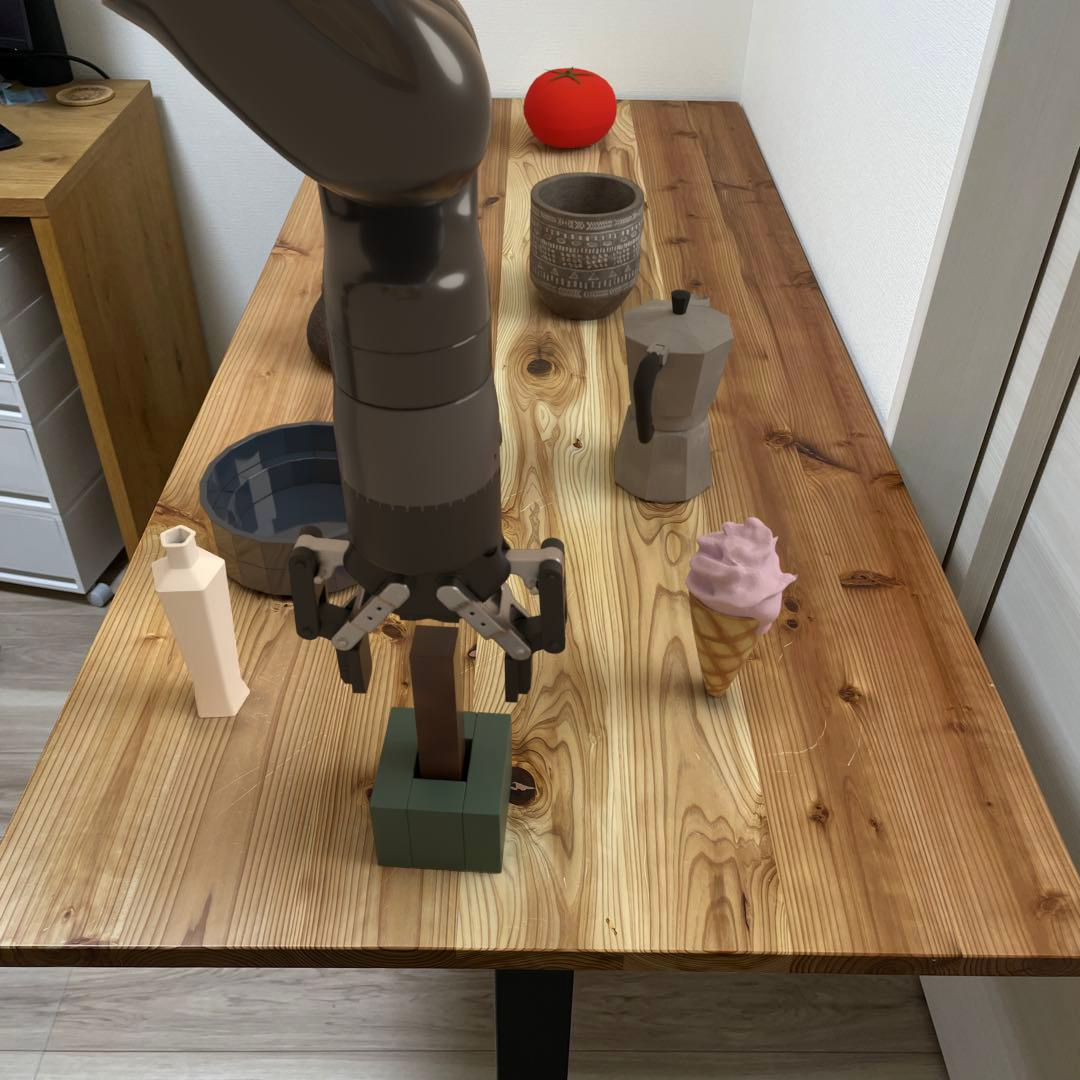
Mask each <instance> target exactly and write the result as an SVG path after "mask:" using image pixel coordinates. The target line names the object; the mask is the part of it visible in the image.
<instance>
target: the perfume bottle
mask: <svg viewBox="0 0 1080 1080" xmlns="http://www.w3.org/2000/svg"><path fill="white" fill-rule="evenodd" d="M196 534H197V532H196V531H195V530H194V529H191V528H189V527H187V526H186V525H183V524H179V525H176V526H173V527H171V528H169V529H165V530H164V531H161V533H159V536H160V537H159V538H160V542H161V546H162V547H163V548H164V549H165V554H166V555H165V556H163V557H161V558H159V559H157V560H154V561H152V562H151V571H152V576H153V577H152V578H153V582H154V588H155V589H154V590H155V591H156V594H157V597H158V599H159V601H160V604H161V606H162V609H163V611H164V615H165V616H166V619H167V621H168V624H169V627H170V629H171V631H172V634H173V637H174V639H175V642H176V644H177V646H178V650H179V652H180V655H181V657H182V659H183V662H184V664H185V667H186V670H187V672H188V675H189V677H190V679H191V682H192V685H193V687H194V700H195V704H196V709H197V710H196V711H197V714H198V717H199V718H202V719H204V718H231V717H235V716H236V715H237V714H238V713H239V711H240V710H241V708H242V706H243V704H244V703H245V701H246V699H247V698H248V697H249V695H250V693H251V690H250V688H249V687H248V685H247V684H246V683H245V681H244V680H243V678H242V677H241V669H240V662H239V655H238V649H237V648H238V647H237V642H236V633H235V627H234V618H233V612H232V606H231V604H232V603H231V597H230V591H229V584H228V583H229V582H228V575H227V574H226V568H225V561H224V560H223V559H222V558H220V557H218V556H216V555H214V554H212V552H210V551H207V550H205V548H202V547H200V546H198V545H197V542H196V538H195V536H196Z"/></svg>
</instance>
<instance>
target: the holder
mask: <svg viewBox="0 0 1080 1080" xmlns="http://www.w3.org/2000/svg"><path fill="white" fill-rule="evenodd" d="M463 712H464V730H465V749H466V768H467V782H461V781H445V780H429V779H421V774H420V763H419V753H418V743H417V733H416V723H415V713H414V707H403V706H391V708H390V712H389V716H388V717H389V718H388V720H387V725H386V730H385V734H384V738H383V743H382V747H381V752H380V757H379V760H378V765H377V769H376V772H375V777H374V781H373V787H372V791H371V795H370V801H369V805H368V810H369V816H370V824H371V830H372V835H373V843H374V849H375V856H376V862H377V866H381V867H382V866H383V867H398V868H412V869H425V870H426V869H427V870H440V871H455V872H456V871H457V872H465V871H466V872H474V873H488V874H489V873H490V874H501V873H502V868H503V860H504V853H505V852H504V850H505V844H506V843H505V842H506V833H507V823H508V816H509V815H508V814H509V806H510V805H509V804H510V797H511V796H510V795H511V788H512V787H511V785H512V777H513V741H512V740H513V735H512V733H513V729H512V724H513V723H512V714H511V713H501V712H483V711H472V710H470V711H469V710H463Z"/></svg>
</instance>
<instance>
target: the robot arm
mask: <svg viewBox="0 0 1080 1080" xmlns="http://www.w3.org/2000/svg"><path fill="white" fill-rule="evenodd" d="M100 2H101V4H102V6H104V7H106V8H107V9H109V10H110V11H112V12H114V13H115V14H116V15H118V16H120V17H121V18H122V19H125V20H126V21H128V22H130V23H132V24H133V25H135V26H136V27H138V28H140V29H141V30H143V31H144V32H146V33H147V34H148V35H150V36H151V37H152V38H153V39H155V40H156V42H158V43H159V44H160V45H161V46H162V47H163V48H165V49H166V50H167V51H168V52H169V53H170V54H171V55H172V56H173V57H174V58H175V59H176V60H177V61H178V62H179V63H180V65H182V66H183V67H184V69H186V71H187V72H189V74H190V75H191V76H192V77H193V78H194V79H195V80H196V81H197V82H198V83H199V84H200V85H201V86H203V87H204V88H205V89H206V90H207V91H208V92H209V93H210V94H211V95H213V96H214V98H216V99H217V100H218V101H219V102H220V103H221V104H222V105H223V106H225V107H226V108H227V109H228V111H230V112H231V113H232V114H233V115H234V116H235V117H237V118H238V119H239V120H240V121H241V122H242V123H243V124H244V125H245V126H246V127H248V129H250V130H251V131H252V132H253V133H254V134H255V135H256V136H257V137H259V138H260V139H261V140H262V141H263V142H264V143H265V144H266V145H267V146H269V147H270V148H272V150H273V151H275V153H277V154H278V155H279V156H281V157H282V158H283V159H284V160H285V161H287V162H288V163H289V164H291V166H293V167H294V168H296V169H297V170H299V172H301V173H303V174H304V175H305V176H307V177H308V178H310V179H311V180H313V181H314V182H316V185H317V190H318V197H319V204H320V210H321V217H322V225H323V258H322V259H323V260H322V277H321V279H322V282H321V284H322V285H323V308H324V319H325V324H326V331H327V338H328V346H329V353H330V360H331V365H330V367H331V373H332V374H331V375H332V376H331V377H332V422H333V424H334V433H335V440H336V448H337V455H338V462H339V469H340V476H341V483H342V490H343V497H344V504H345V511H346V518H347V526H348V533H349V540H348V541H346V540H335V539H325V538H323V533H322V531H321V530H320V529H319V528H317V527H315V526H312V525H306V526H304V527H302V528H301V530H300V532H299V535H298V537H297V540H296V543H295V545H294V548H293V551H292V553H291V556H290V559H289V562H288V565H289V574H290V582H291V591H292V596H291V599H292V605H293V606H292V607H293V614H294V623H295V631H296V634H297V636H298V637H299V638H301V639H303V640H306V641H314V640H316V639H317V638H319V637H320V638H323V639H326V640H328V641H330V642H331V645H332V646H333V647H334V649H335V653H336V659H337V665H338V670H339V671H338V672H339V678H340V679H341V681H342V682H343V683H344V684H346V685H351V689H352V693H353V694H361V695H363V694H364V695H366V694H368V689H369V687H370V686H369V685H370V682H371V678H372V674H373V660H372V652H371V651H372V650H371V644H370V643H371V642H370V637H369V636H370V635H369V634H373V632H374V631H375V630H376V629H377V628H378V627H379V626H380V625H382V623H383V622H384V621H385V620H386V619H387V618H388V617H389V616H390V615H391V614H393V615H395V616H397V617H399V621H409V622H417V621H424V620H433V621H437V622H440V623H444V624H445V623H446V624H460V621H461V620H462V619H463V620H464V621H465V622H466V624H468V625H469V626H470V627H471V628H472V629H473V630H474V631H475V632H476V633H477V634H478V635H479V636H480V637H481V638H483V640H485V641H490V640H492V641H494V642H495V643H496V644H497V645H498V646H499V647H500V648H501V649H502V651H504V660H503V661H504V662H503V663H504V665H503V667H504V702H505V703H511V704H518V703H519V697H520V695H528V694H529V692H530V691H531V689H532V679H533V670H534V669H533V667H534V665H533V661H534V658H533V656H534V654H535V653H537V652H540V651H545V652H546V653H548V654H551V655H559V654H561V653H563V652H564V651H565V650H566V642H567V640H566V639H567V637H566V631H567V630H566V628H567V623H568V593H567V574H566V549H565V544H564V541H562V540H561V539H559V538H557V537H548V538H544V539H543V541H542V542H541V544H540V548H511V545H510V544H509V543H508V541H507V540H506V539H505V536H504V533H503V522H502V521H503V518H502V516H503V515H502V513H503V512H502V472H501V471H502V469H501V466H502V465H501V446H502V444H503V429H502V424H501V420H500V419H501V418H500V404H499V398H498V392H497V388H496V382H495V376H494V364H493V329H492V327H493V326H492V325H493V324H492V299H491V298H492V296H491V287H490V279H489V273H488V272H489V271H488V267H487V261H486V255H485V252H484V248H483V243H482V238H481V233H480V232H481V231H480V223H479V221H480V220H479V168H480V165H481V164H482V162H483V160H484V157H485V155H486V152H487V149H488V146H489V142H490V137H491V132H492V127H493V97H492V90H491V85H490V84H491V83H490V80H489V76H488V72H487V69H486V66H485V63H484V59H483V55H482V53H481V49H480V46H479V41H478V38H477V35H476V32H475V29H474V26H473V24H472V22H471V20H470V17H469V16H468V14H467V12H466V10H465V8H464V7H463V5H462V4H461V2H460V1H459V0H100ZM342 565H343V566H344V568H345V570H346V571H347V573H348V574H349V575H350V576H351V577H352V578H353V579H354V580H355V581H356V582H357V584H359V586H358V587H357V589H356V591H354V592H353V594H352V595H351V596H349V598H348V599H347V600H346V602H344V603H343V604H342V606H340V605H337V604H333V603H331V602H330V599H329V593H328V586H327V579H329V578H331V577H332V575H333V571H334V569H335V568H336V567H338V566H342ZM511 575H515V576H518V577H519V578H520V579H521V580H522V581H523V584H524V586H525V587H526V588H527V589H528V590H529V593H530V594H531V595H532V596H538V602H539V614H538V615H532V614H531V613H530V612H529V611H528V610H527V609H526V608H525V607H524V606H523V605H522V604H521V603H520V602H519V601H518V599H516V598H515V596H514V594H513V590H512V588H511V586H510V585H509V584H508V583H507V581H508V580H509V578H510V576H511Z"/></svg>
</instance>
